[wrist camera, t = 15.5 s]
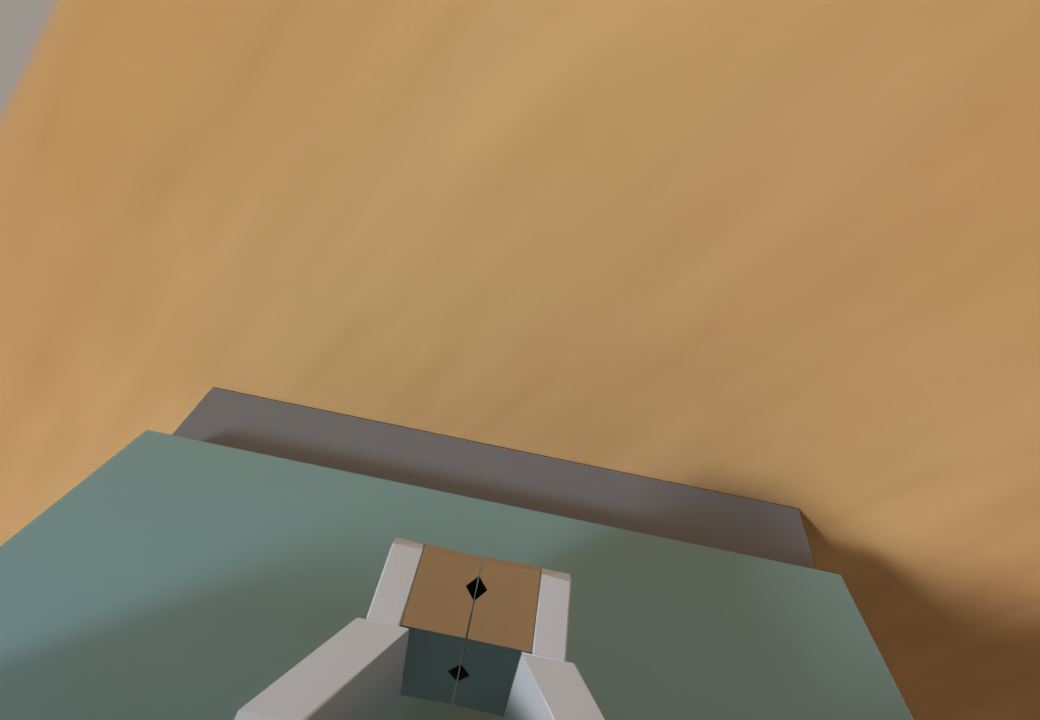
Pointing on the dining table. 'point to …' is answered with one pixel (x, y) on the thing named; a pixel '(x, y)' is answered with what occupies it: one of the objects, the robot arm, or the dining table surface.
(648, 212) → the dining table surface
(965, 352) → the dining table surface
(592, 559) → the panel
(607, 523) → the pair of grey bars
